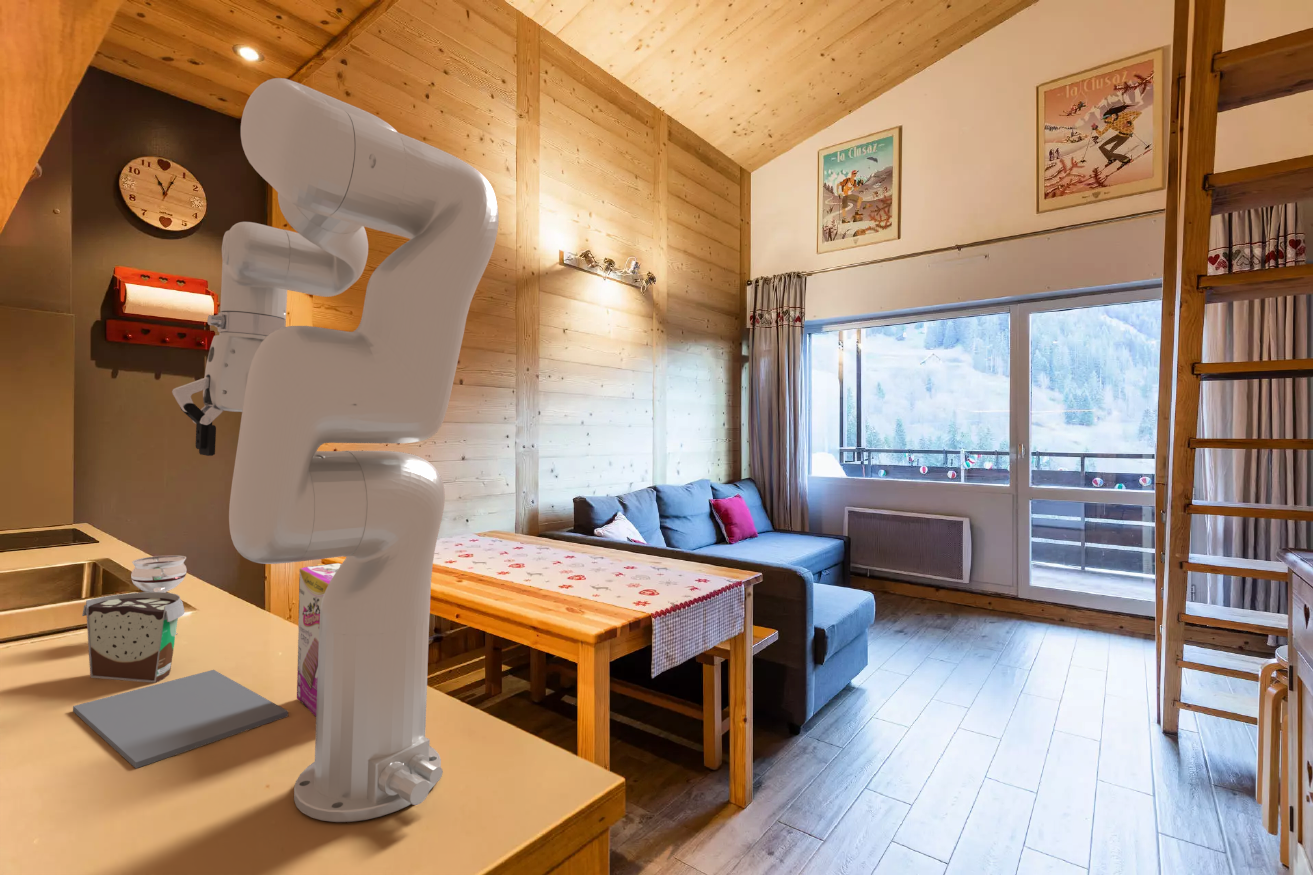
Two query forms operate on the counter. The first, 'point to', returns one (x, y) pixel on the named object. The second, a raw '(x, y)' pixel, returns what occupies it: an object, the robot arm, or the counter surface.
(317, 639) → the candy bar box
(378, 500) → the robot arm
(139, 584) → the wineglass
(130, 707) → the mat
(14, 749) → the counter surface
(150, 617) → the food container
